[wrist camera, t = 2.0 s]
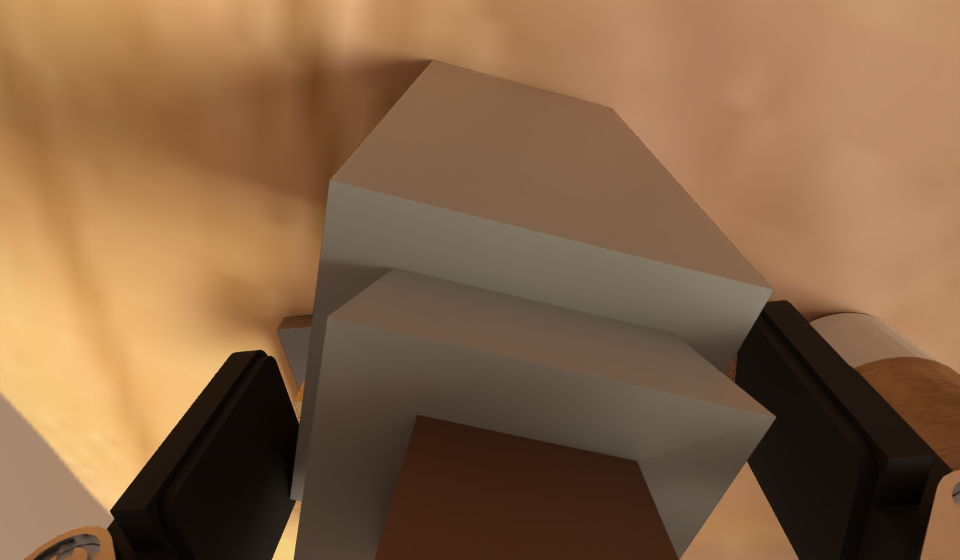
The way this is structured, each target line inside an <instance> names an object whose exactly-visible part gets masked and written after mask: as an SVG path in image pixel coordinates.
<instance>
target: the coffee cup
mask: <svg viewBox="0 0 960 560" xmlns="http://www.w3.org/2000/svg"><path fill="white" fill-rule="evenodd" d="M809 323H810V324H811V325H812V327H813V328H814V329H815V330H816V331H817V332H818V333H819V334H820V335H821V336H822V337H823V338H824V339H825V340H826V341H827V342H828V343H829V344H830V345H831V347H832V348H833V349H834V350H835V351H836V352H837V353H838V354H839V355H840V356H841V357H842V358H843V359H844V360H845V361H846V362H847V363H848V364H849V365H850V366H852V367H853V368H854V369H855V370H857V371H858V372H859V373H860V374H861V375H862V376H863V377H864V378H865V379H866V380H867V382H868V383H869V384H870V385H871V386H872V387H873V388H874V389H875V390H876V391H877V392H878V393H879V394H880V395H881V396H882V397H883V398H884V399H885V400H886V401H887V402H888V403H889V404H890V406H891V407H892V408H893V409H894V410H895V411H896V412H897V413H898V414H899V415H900V416H901V417H902V418H903V419H904V420H905V421H906V422H907V423H908V424H909V425H910V426H911V427H912V428H913V430H914V431H915V432H916V433H917V434H918V435H919V436H920V437H921V438H922V439H923V440H924V441H925V442H926V443H927V444H928V445H929V446H930V447H931V448H932V449H933V450H934V451H935V452H936V454H937V455H938V456H939V457H940V458H941V459H942V460H943V461H944V462H945V463H946V464H947V465H948V466H949V467H950V468H951V469H952V470H953V471H958V470H960V374H958V373H957V372H955V371H954V370H952V369H951V368H950V367H948V366H946V365H943V364H942V363H940V362H939V361H938V360H936V359H935V358H934V357H932V356H931V355H930V354H928V353H927V352H925V351H924V350H923V349H921V348H920V347H919V346H917V345H916V344H915V343H913V342H912V341H910V340H909V339H908V338H906V337H905V336H904V335H902V334H901V333H900V332H898V331H897V330H895V329H894V328H893V327H891V326H890V325H888V324H887V323H885V322H884V321H882V320H880V319H878V318H875V317H873V316H869V315H864V314H860V313H841V314H833V315H829V316H825V317H822V318H818V319H816V320H814V321H811V322H809Z"/></svg>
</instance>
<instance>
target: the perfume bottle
mask: <svg viewBox="0 0 960 560" xmlns="http://www.w3.org/2000/svg"><path fill="white" fill-rule="evenodd" d="M773 291H774V290H773V288H772V287H771V286H770V285H769V284H768V283H767V282H766V281H765V279H764V278H763V277H762V276H761V275H760V274H759V273H758V272H757V270H756V269H755V268H754V267H753V266H752V265H751V264H750V263H749V261H748V260H747V259H746V258H745V257H744V256H743V255H742V254H741V252H740V251H739V250H738V249H737V248H736V247H735V246H734V245H733V244H732V242H731V241H730V240H729V239H728V238H727V237H726V236H725V235H724V233H723V232H722V231H721V230H720V229H719V228H718V227H717V226H716V224H715V223H714V222H713V221H712V220H711V219H710V218H709V217H708V215H707V214H706V213H705V212H704V211H703V210H702V209H701V208H700V206H699V205H698V204H697V203H696V202H695V201H694V200H693V199H692V197H691V196H690V195H689V194H688V193H687V192H686V191H685V190H684V188H683V187H682V186H681V185H680V184H679V183H678V182H677V181H676V179H675V178H674V177H673V176H672V175H671V174H670V173H669V172H668V170H667V169H666V168H665V167H664V166H663V165H662V164H661V163H660V162H659V160H658V159H657V158H656V157H655V156H654V155H653V154H652V153H651V151H650V150H649V149H648V148H647V147H646V146H645V145H644V144H643V142H642V141H641V140H640V139H639V138H638V137H637V136H636V135H635V133H634V132H633V131H632V130H631V129H630V128H629V127H628V126H627V124H626V123H625V122H624V121H623V120H622V119H621V118H620V117H619V115H618V114H617V113H616V112H615V111H614V110H613V109H611V108H608V107H604V106H600V105H597V104H593V103H589V102H586V101H582V100H578V99H575V98H571V97H567V96H564V95H560V94H556V93H553V92H549V91H545V90H541V89H538V88H534V87H530V86H527V85H523V84H519V83H516V82H512V81H508V80H505V79H501V78H497V77H494V76H490V75H486V74H483V73H479V72H475V71H472V70H468V69H464V68H461V67H457V66H453V65H449V64H446V63H442V62H438V61H435V60H433V61H432V62H431V63H430V64H429V65H428V66H427V67H426V69H425V70H424V71H423V72H422V73H421V74H420V76H419V77H418V78H417V79H416V80H415V81H414V83H413V84H412V85H411V86H410V87H409V88H408V90H407V91H406V92H405V93H404V94H403V95H402V97H401V98H400V99H399V100H398V101H397V102H396V104H395V105H394V106H393V107H392V108H391V109H390V111H389V112H388V113H387V114H386V115H385V116H384V117H383V119H382V120H381V121H380V122H379V123H378V124H377V126H376V127H375V128H374V129H373V130H372V131H371V133H370V134H369V135H368V136H367V137H366V138H365V140H364V141H363V142H362V143H361V144H360V145H359V147H358V148H357V149H356V150H355V151H354V152H353V154H352V155H351V156H350V157H349V158H348V159H347V160H346V162H345V163H344V164H343V165H342V166H341V167H340V169H339V170H338V171H337V172H336V173H335V174H334V176H333V177H332V178H331V179H330V181H329V189H328V197H327V205H326V214H325V222H324V230H323V238H322V246H321V254H320V262H319V270H318V278H317V286H316V294H315V302H314V310H313V318H312V326H311V334H310V342H309V351H308V359H307V367H306V375H305V383H304V391H303V399H302V407H301V415H300V423H299V431H298V439H297V447H296V455H295V463H294V471H293V480H292V488H291V496H290V499H292V500H298V501H302V504H301V512H300V519H299V526H298V533H297V540H296V547H295V554H294V560H680V558H681V557H682V555H683V554H684V552H685V551H686V549H687V548H688V546H689V545H690V543H691V542H692V541H693V539H694V538H695V536H696V535H697V533H698V532H699V530H700V529H701V527H702V526H703V524H704V523H705V521H706V520H707V518H708V517H709V516H710V514H711V513H712V511H713V510H714V508H715V507H716V505H717V504H718V502H719V501H720V499H721V498H722V496H723V495H724V493H725V492H726V491H727V489H728V488H729V486H730V485H731V483H732V482H733V480H734V479H735V477H736V476H737V474H738V473H739V471H740V470H741V469H742V467H743V466H744V464H745V463H746V461H747V460H748V458H749V457H750V455H751V454H752V452H753V451H754V449H755V448H756V446H757V445H758V444H759V442H760V441H761V439H762V438H763V436H764V435H765V433H766V432H767V430H768V429H769V427H770V426H771V424H772V423H773V421H774V420H775V419H776V416H774V415H773V414H772V413H771V412H769V411H768V410H767V409H766V408H765V407H763V406H762V405H761V404H760V403H758V402H757V401H756V400H755V399H753V398H752V397H751V396H750V395H749V394H747V393H746V392H745V391H744V390H742V389H741V388H740V387H739V386H738V385H736V384H735V383H734V382H733V381H731V380H730V379H729V378H728V377H726V376H725V375H724V374H725V372H726V370H727V369H728V367H729V365H730V364H731V362H732V360H733V359H734V357H735V355H736V353H737V352H738V350H739V348H740V347H741V345H742V343H743V342H744V340H745V338H746V336H747V335H748V333H749V331H750V330H751V328H752V326H753V325H754V323H755V321H756V320H757V318H758V316H759V314H760V313H761V311H762V309H763V308H764V306H765V304H766V303H767V301H768V299H769V297H770V296H771V294H772V292H773Z"/></svg>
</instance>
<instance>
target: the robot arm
mask: <svg viewBox="0 0 960 560" xmlns="http://www.w3.org/2000/svg"><path fill="white" fill-rule="evenodd" d="M735 384H736V385H738V386H739V387H740V388H741V389H742V390H744V391H745V392H746V393H747V394H749V395H750V396H751V397H752V398H753V399H755V400H756V401H757V402H758V403H760V404H761V405H762V406H763V407H765V408H766V409H767V410H768V411H769V412H771V413H772V414H773V415H774V416H776V419H775V420H774V421H773V423H772V424H771V426H770V427H769V429H768V430H767V432H766V433H765V435H764V436H763V438H762V439H761V441H760V442H759V444H758V445H757V446H756V448H755V449H754V451H753V452H752V454H751V455H750V457H749V458H748V460H747V462H748V464H749V466H750V468H751V470H752V472H753V473H754V475H755V477H756V479H757V481H758V483H759V485H760V487H761V489H762V490H763V492H764V494H765V496H766V498H767V500H768V502H769V504H770V506H771V507H772V509H773V511H774V513H775V515H776V517H777V519H778V521H779V523H780V524H781V526H782V528H783V530H784V532H785V534H786V536H787V538H788V539H789V541H790V543H791V545H792V547H793V549H794V551H795V553H796V555H797V556H798V558H799V560H960V470H958V471H953V470H952V469H951V468H950V467H949V466H948V465H947V464H946V463H945V462H944V461H943V460H942V459H941V458H940V457H939V456H938V455H937V454H936V452H935V451H934V450H933V449H932V448H931V447H930V446H929V445H928V444H927V443H926V442H925V441H924V440H923V439H922V438H921V437H920V436H919V435H918V434H917V433H916V432H915V431H914V430H913V428H912V427H911V426H910V425H909V424H908V423H907V422H906V421H905V420H904V419H903V418H902V417H901V416H900V415H899V414H898V413H897V412H896V411H895V410H894V409H893V408H892V407H891V406H890V404H889V403H888V402H887V401H886V400H885V399H884V398H883V397H882V396H881V395H880V394H879V393H878V392H877V391H876V390H875V389H874V388H873V387H872V386H871V385H870V384H869V383H868V382H867V380H866V379H865V378H864V377H863V376H862V375H861V374H860V373H859V372H858V371H857V370H855V369H854V368H853V367H852V366H850V365H849V364H848V363H847V362H846V361H845V360H844V359H843V358H842V357H841V356H840V355H839V354H838V353H837V352H836V351H835V350H834V349H833V348H832V347H831V345H830V344H829V343H828V342H827V341H826V340H825V339H824V338H823V337H822V336H821V335H820V334H819V333H818V332H817V331H816V330H815V329H814V328H813V327H812V325H811V324H810V323H809V322H808V321H807V320H806V319H805V318H804V317H803V316H802V315H801V314H800V313H799V312H798V311H797V310H796V309H795V308H794V307H793V306H792V304H791V303H789V302H788V301H785V300H782V301H772V302H767V303H766V304H765V306H764V308H763V309H762V311H761V313H760V314H759V316H758V318H757V320H756V321H755V323H754V325H753V326H752V328H751V330H750V331H749V333H748V335H747V336H746V338H745V340H744V342H743V343H742V345H741V347H740V348H739V350H738V354H737V366H736V377H735ZM298 431H299V423H298V420H297V417H296V414H295V412H294V409H293V406H292V403H291V401H290V398H289V395H288V392H287V390H286V387H285V384H284V381H283V378H282V376H281V373H280V370H279V367H278V365H277V362H276V360H275V359H274V357H272V356H267V354H266V353H265V352H264V351H262V350H255V351H244V352H235V353H233V354H231V355H230V356H229V358H228V359H227V360H226V362H225V363H224V364H223V365H222V367H221V368H220V369H219V371H218V372H217V373H216V374H215V376H214V377H213V378H212V380H211V381H210V382H209V384H208V385H207V386H206V387H205V389H204V390H203V391H202V393H201V394H200V395H199V396H198V398H197V399H196V400H195V402H194V403H193V404H192V405H191V407H190V408H189V409H188V411H187V412H186V413H185V415H184V416H183V417H182V418H181V420H180V421H179V422H178V424H177V425H176V426H175V427H174V429H173V430H172V431H171V433H170V434H169V435H168V436H167V438H166V439H165V440H164V442H163V443H162V444H161V446H160V447H159V448H158V449H157V451H156V452H155V453H154V455H153V456H152V457H151V458H150V460H149V461H148V462H147V464H146V465H145V466H144V467H143V469H142V470H141V471H140V473H139V474H138V475H137V477H136V478H135V479H134V480H133V482H132V483H131V484H130V486H129V487H128V488H127V489H126V491H125V492H124V493H123V495H122V496H121V497H120V498H119V500H118V501H117V502H116V504H115V505H114V506H113V508H112V509H111V510H110V512H111V514H112V515H113V517H114V520H113V522H112V523H111V524H110V526H109V527H108V528H107V530H106V529H104V528H102V527H100V526H86V527H82V528H77V529H74V530H71V531H68V532H66V533H64V534H62V535H59V536H57V537H55V538H54V539H52V540H50V541H49V542H47V543H45V544H43V545H42V546H40V547H39V548H38V549H37V550H35V551H34V552H33V553H32V554H30V555H29V556H28V557H27V558H25V559H24V560H272V558H273V555H274V553H275V550H276V548H277V546H278V543H279V541H280V538H281V536H282V534H283V531H284V529H285V526H286V524H287V522H288V519H289V517H290V514H291V512H292V510H293V507H294V505H295V502H296V500H292V499H290V496H291V488H292V480H293V471H294V463H295V455H296V447H297V439H298Z"/></svg>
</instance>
